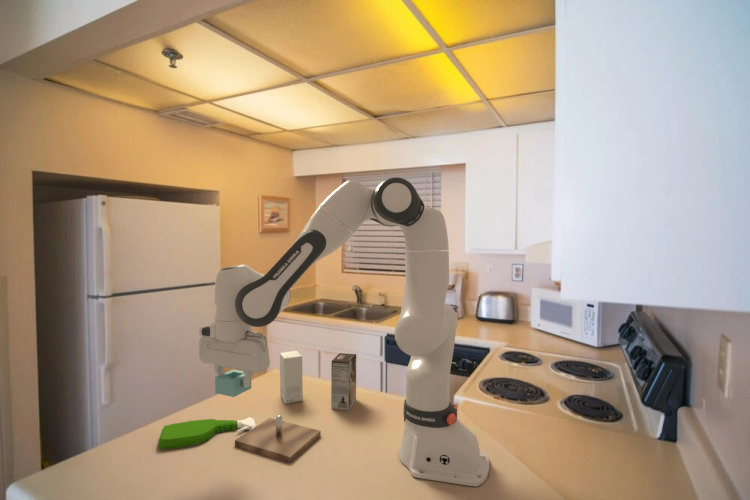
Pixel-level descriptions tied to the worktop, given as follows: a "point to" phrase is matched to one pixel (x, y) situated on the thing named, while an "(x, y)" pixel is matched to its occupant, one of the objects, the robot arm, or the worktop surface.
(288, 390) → the skincare box
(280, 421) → the clear glass vial
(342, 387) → the coffee box
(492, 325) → the worktop surface
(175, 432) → the spray bottle
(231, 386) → the teal square ring
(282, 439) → the walnut board
